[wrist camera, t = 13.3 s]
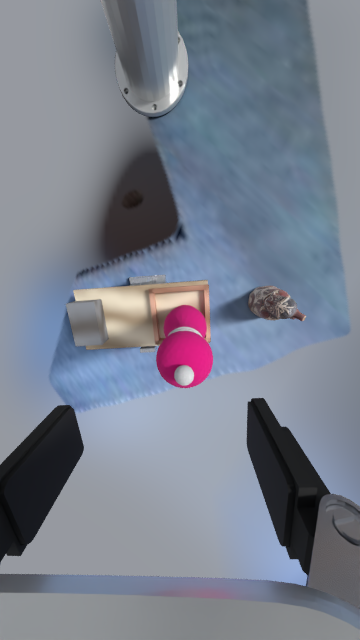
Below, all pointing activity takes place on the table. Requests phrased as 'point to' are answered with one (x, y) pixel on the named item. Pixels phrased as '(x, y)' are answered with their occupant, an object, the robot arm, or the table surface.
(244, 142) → the table surface
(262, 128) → the table surface
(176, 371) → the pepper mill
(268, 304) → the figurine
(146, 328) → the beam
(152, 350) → the fulcrum
